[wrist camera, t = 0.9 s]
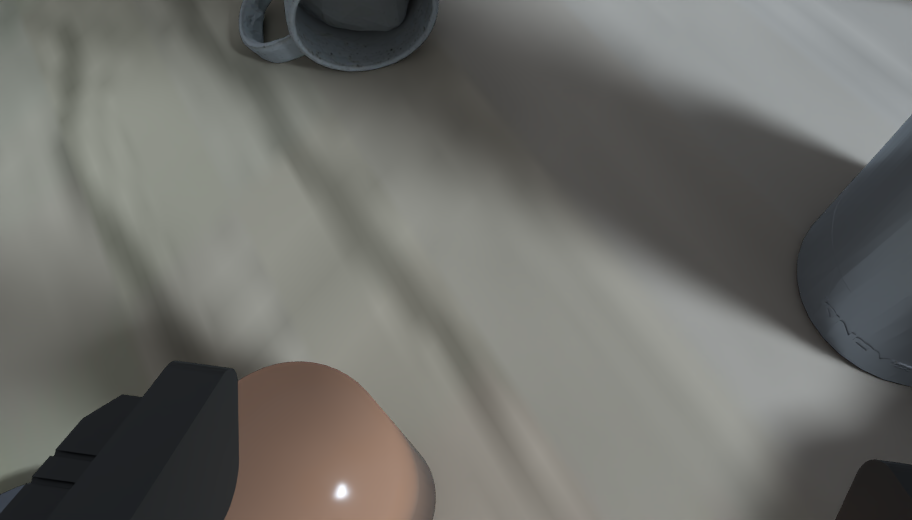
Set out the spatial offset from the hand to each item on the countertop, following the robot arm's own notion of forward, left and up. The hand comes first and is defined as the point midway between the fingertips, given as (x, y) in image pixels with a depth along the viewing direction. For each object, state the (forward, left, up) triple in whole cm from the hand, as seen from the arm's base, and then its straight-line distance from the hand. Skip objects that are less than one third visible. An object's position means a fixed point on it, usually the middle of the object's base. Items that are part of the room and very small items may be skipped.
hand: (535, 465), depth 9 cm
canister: (+4, -5, -22) cm, 23 cm away
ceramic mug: (-12, -26, -22) cm, 36 cm away
